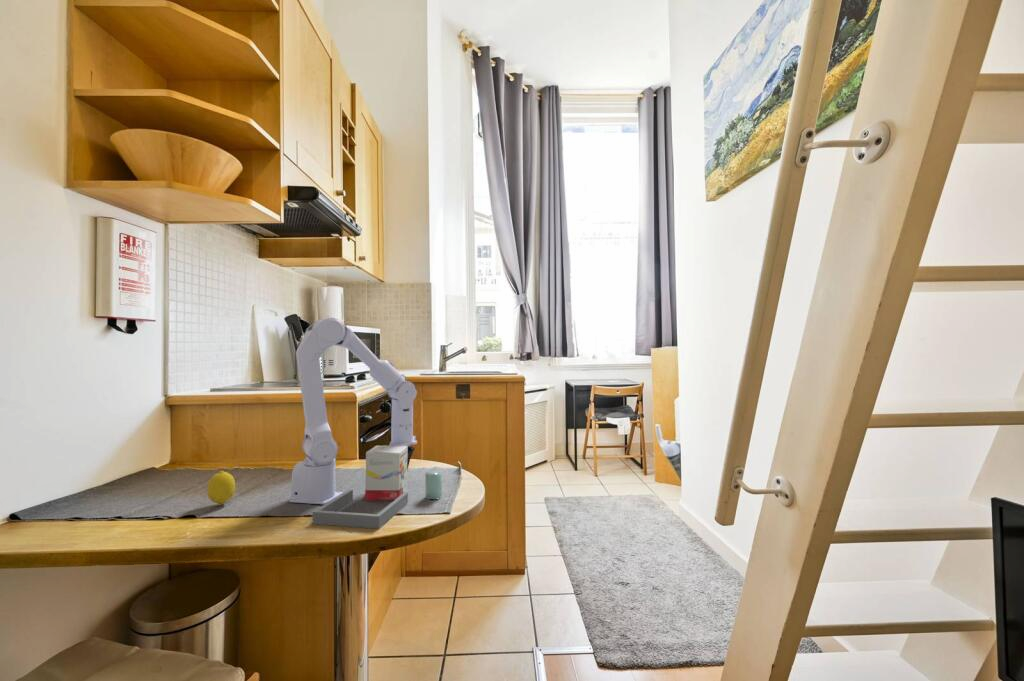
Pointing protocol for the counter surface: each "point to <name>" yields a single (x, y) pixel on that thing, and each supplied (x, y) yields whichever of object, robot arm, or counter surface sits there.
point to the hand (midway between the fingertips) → (402, 474)
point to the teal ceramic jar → (433, 484)
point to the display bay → (330, 517)
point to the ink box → (386, 473)
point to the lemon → (221, 487)
